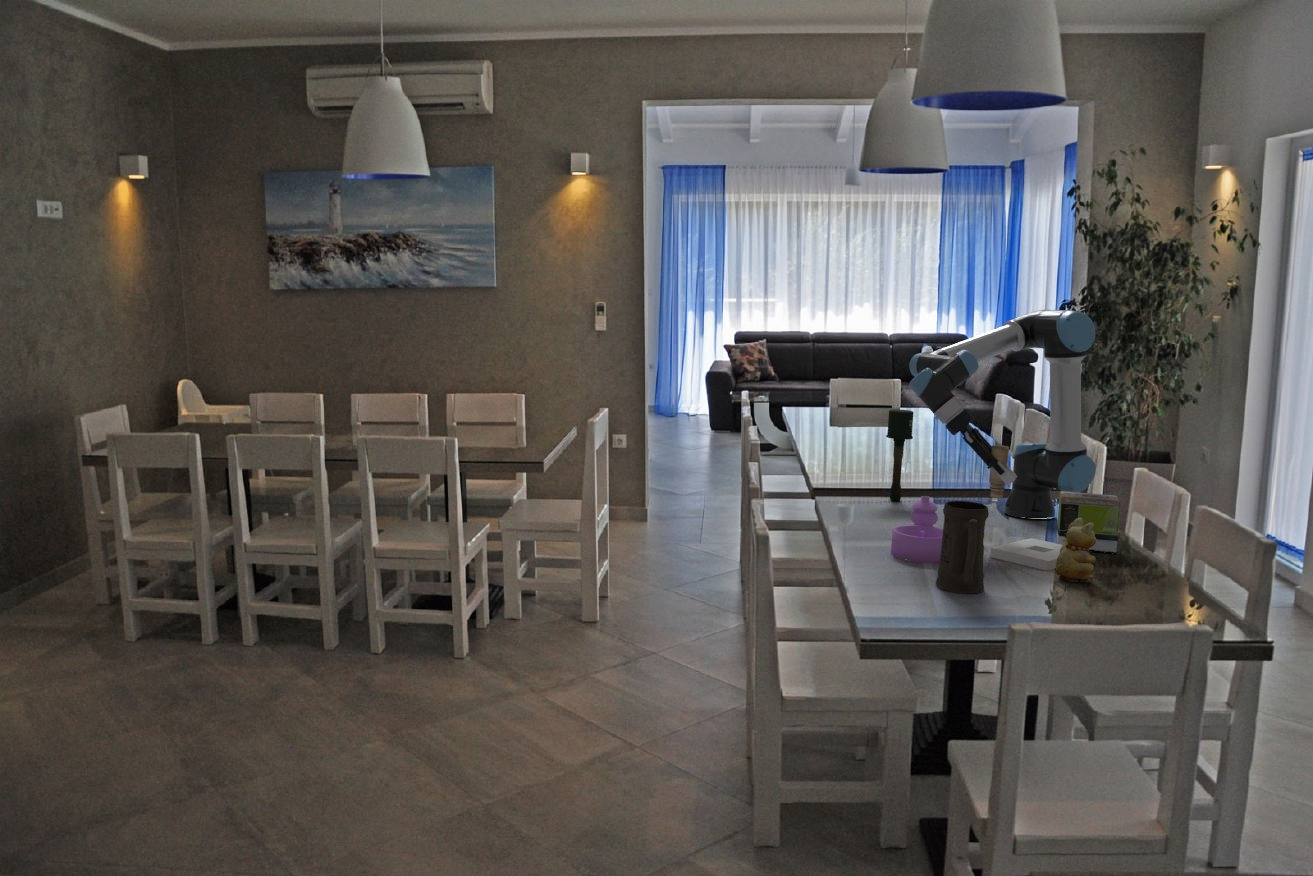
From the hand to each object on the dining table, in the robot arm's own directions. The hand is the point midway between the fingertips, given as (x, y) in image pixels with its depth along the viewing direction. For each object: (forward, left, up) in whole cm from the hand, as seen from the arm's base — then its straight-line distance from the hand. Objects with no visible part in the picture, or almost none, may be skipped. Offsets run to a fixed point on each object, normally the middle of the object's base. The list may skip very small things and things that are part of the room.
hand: (1012, 481), depth 280 cm
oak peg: (+2, -3, -5) cm, 6 cm away
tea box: (-15, +15, -18) cm, 28 cm away
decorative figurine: (+21, +30, -18) cm, 40 cm away
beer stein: (+52, +20, -18) cm, 58 cm away
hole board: (+8, +14, -18) cm, 24 cm away
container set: (+28, -9, -18) cm, 34 cm away
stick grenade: (-24, -55, -18) cm, 63 cm away
